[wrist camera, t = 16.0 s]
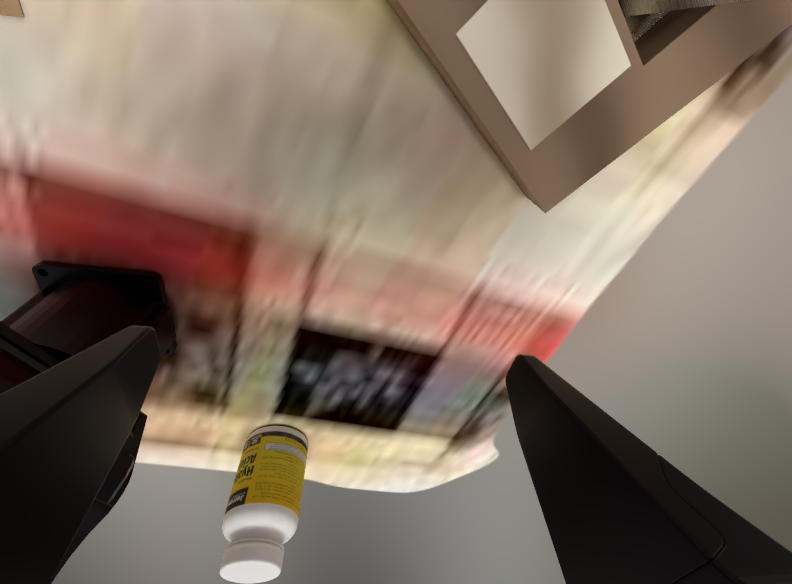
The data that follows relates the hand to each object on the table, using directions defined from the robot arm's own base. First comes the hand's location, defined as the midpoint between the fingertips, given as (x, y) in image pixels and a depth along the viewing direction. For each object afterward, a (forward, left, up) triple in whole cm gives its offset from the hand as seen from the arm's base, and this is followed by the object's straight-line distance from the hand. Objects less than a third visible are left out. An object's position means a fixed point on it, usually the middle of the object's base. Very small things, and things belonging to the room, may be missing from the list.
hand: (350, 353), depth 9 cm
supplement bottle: (-4, -24, -13) cm, 28 cm away
